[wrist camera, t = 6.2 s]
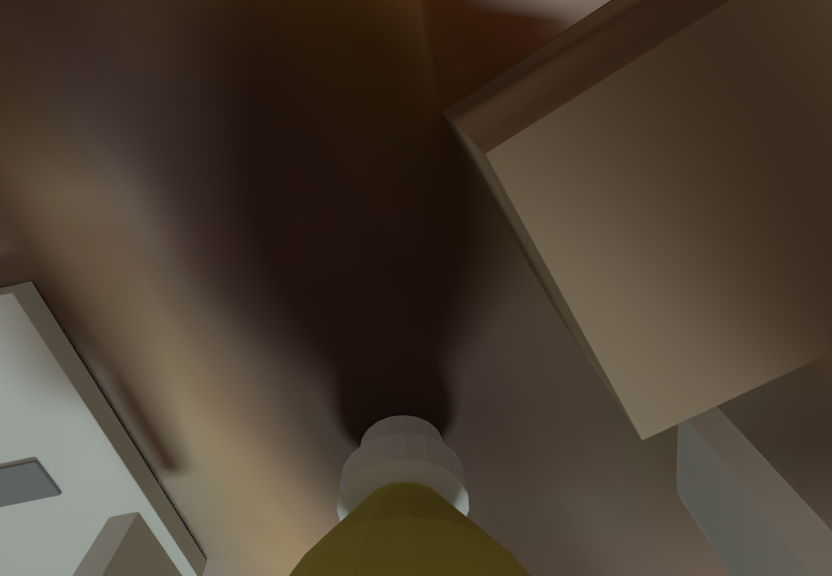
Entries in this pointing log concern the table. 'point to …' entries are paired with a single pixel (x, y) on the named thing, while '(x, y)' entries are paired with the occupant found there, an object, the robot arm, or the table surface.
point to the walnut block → (672, 192)
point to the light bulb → (405, 512)
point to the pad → (65, 454)
